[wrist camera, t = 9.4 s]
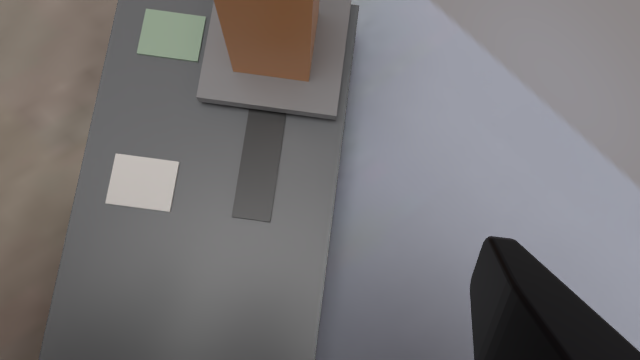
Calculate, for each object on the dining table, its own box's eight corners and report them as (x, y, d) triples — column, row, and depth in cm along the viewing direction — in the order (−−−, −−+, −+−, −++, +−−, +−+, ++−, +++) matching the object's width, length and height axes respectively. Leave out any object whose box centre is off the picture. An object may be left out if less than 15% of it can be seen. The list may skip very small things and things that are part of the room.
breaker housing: (270, 691, 18) (265, 754, 15) (6, 658, 18) (-42, 716, 15) (352, 38, 22) (359, 4, 20) (143, 9, 22) (123, -28, 20)
